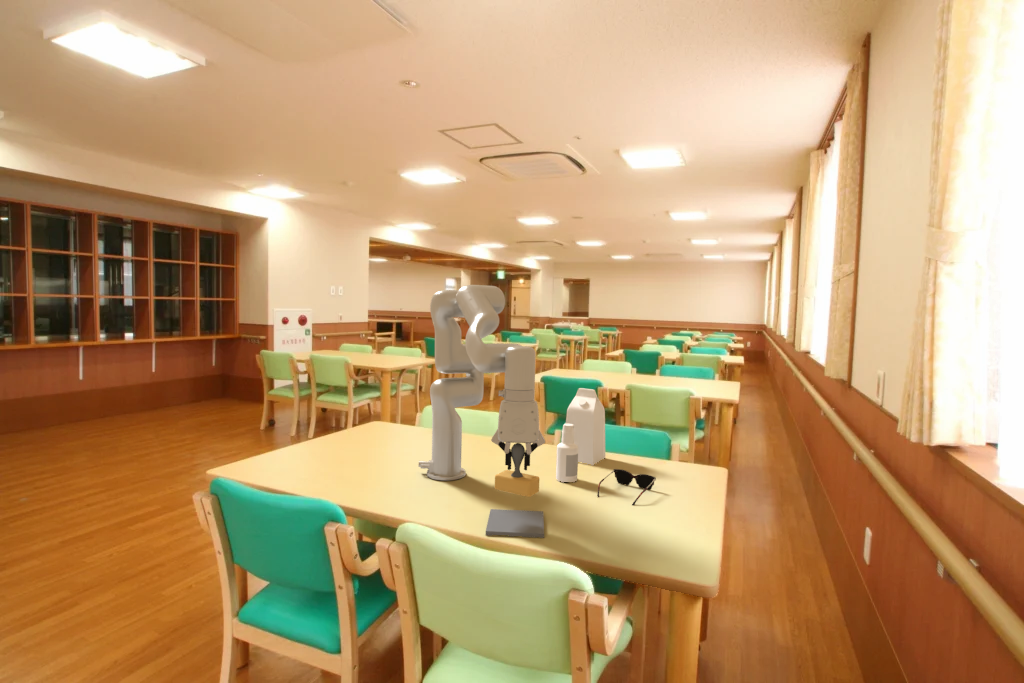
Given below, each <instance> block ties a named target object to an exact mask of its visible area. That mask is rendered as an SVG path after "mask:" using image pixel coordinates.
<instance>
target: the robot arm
mask: <svg viewBox="0 0 1024 683" xmlns="http://www.w3.org/2000/svg"><path fill="white" fill-rule="evenodd" d="M505 296H506V295H505V294H504V292H503V291H502V290H501V289H500V287H497V286H495V285H486V284H485V285H484V284H482V285H481V284H467V285H464V286H461V288H459V289H443V290H439V291H437V292H435V293H433V295H432V297H431V300H430V304H429V305H430V306H429V308H430V309H429V311H430V317H431V320H432V323H433V328H434V364H435V365H434V367H435V369H436V371H437V372H438V373H441V374H446V375H450V374H465V377H463V376H462V377H443V378H439V379H438V378H437V379H436V380H435V381H433V382H432V383H431V385H430V388H429V396H430V397H429V398H430V402H431V415H432V416H431V417H432V419H431V421H432V422H431V424H432V427H431V428H432V429H431V430H432V431H431V434H432V436H431V460H428V461H425V460H418V467H419V468H420V469H427V471H426V477H427V478H429V479H432V480H436V481H455V480H460V479H462V478H464V477H465V476H466V474H467V473H466V472H467V471H466V470H465V469H464V468H463V467H462V445H463V444H462V438H463V437H462V436H463V421H462V418H461V416H460V414H459V413H458V412H457V411H456V408H461V407H472V406H474V407H475V406H478V405H480V403H481V402H482V401H483V398H484V390H485V389H484V386H485V385H484V384H485V383H484V381H485V380H484V379H485V377H484V376H485V374H492V373H494V374H495V373H504V388H503V389H502V390H498V397H502V398H503V400H501V401H500V406H499V411H498V418H497V419H498V422H497V423H498V424H497V429H496V431H495V432H494V434H493V436H492V437H491V439H490V440H491V442H492V443H494V444H495V445H497V446H498V447H499V448H500V449H501V450H502V451H503V452H504V454H505V456H504V457H505V460H504V462H505V464H504V465H505V466H507V470H510V471H511V469H512V456H511V443H514V444H516V443H520V444H525V454H524V458H523V463H524V464H523V467H524V468H523V470H525V471H528V467H530V466H531V454H532V453H533V452H534V451H535V450H536V449H537V448H538V447H541V446H543V445H544V444H545V443H546V439H545V438H544V436H543V434H542V432H541V430H540V416H539V406H538V402H537V401H536V400H535V391H536V386H535V383H536V381H535V380H536V357H537V355H536V354H537V353H536V350H535V348H533V347H532V346H527V345H526V346H524V345H521V344H519V343H518V344H517V343H501V342H499V343H498V342H497V343H485V342H484V341H483V340H482V339H484V338H486V337H488V336H490V335H491V334H493V333H494V332H495V331H496V330H497V329H498V327H499V324H500V316H499V314H501V313H502V312H503V310H504V308H505V306H506V297H505ZM455 318H463V319H465V321H466V322H467V325H468V326H469V328H468V329H467V331H466V335H465V343H462V329H461V326H460V325H459V323H458V321H457V320H456V319H455Z"/></svg>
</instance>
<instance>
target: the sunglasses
mask: <svg viewBox="0 0 1024 683" xmlns="http://www.w3.org/2000/svg"><path fill="white" fill-rule="evenodd" d="M613 473H614V477H615V479H616V482H617V483H618V484H619V483H621V485H624V484H626V485H625V486H629V485H630V484H631V483H632V482H633V479H634V480H635V482H636V484H637V486H638V488H639V489H643V488H644V489H643V491H641V492H640V494H639V495H638V496H637V497H636V499H635V500H634V501H633V502H632V503H631V506H635V505H636V504H637V502H638V500H639V499H640V497H641V496H642V495H643V494H644V493H645V492H646V491H647V490H648V491H650V490H652V488H653V486H654V485H655V481H657V478H656V477H655V476H652V475H650V474H647V473H646V474H642V473H640V474H637V475H634V474H632V472H630V471H628V470H625V469H618V468H613V470H612V471H611V472H610V473H608V474H607V475H606V476H605V477H604V478H602V479H601V480H600V481H599V483H598V486H597V487H598V488H597V493H596V494H597V496H598V497H597V496H596V497H597V498H600V488H601V484H602V483H603V482H604V481H605V479H607V478H608V477H609V476H610V475H612V474H613Z"/></svg>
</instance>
